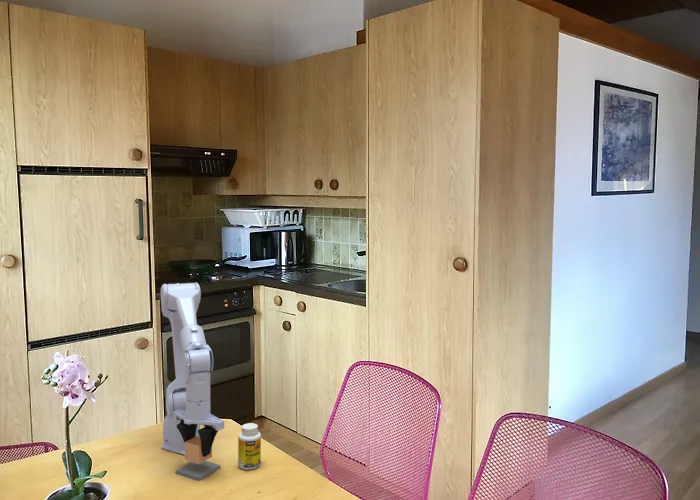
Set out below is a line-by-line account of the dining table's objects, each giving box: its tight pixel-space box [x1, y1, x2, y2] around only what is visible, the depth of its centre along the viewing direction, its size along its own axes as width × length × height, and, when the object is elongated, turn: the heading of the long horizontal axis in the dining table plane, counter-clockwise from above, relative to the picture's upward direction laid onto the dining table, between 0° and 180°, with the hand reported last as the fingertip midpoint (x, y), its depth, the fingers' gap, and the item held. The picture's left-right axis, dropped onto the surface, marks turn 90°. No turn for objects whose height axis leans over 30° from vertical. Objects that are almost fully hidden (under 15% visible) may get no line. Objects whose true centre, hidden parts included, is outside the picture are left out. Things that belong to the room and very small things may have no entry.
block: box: [184, 436, 213, 464], centre depth 140 cm, size 4×4×4 cm
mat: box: [175, 460, 222, 482], centre depth 140 cm, size 8×8×1 cm
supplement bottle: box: [237, 422, 262, 471], centre depth 143 cm, size 6×6×10 cm
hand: (198, 452), depth 140 cm, fingers closed on block, 4 cm apart
